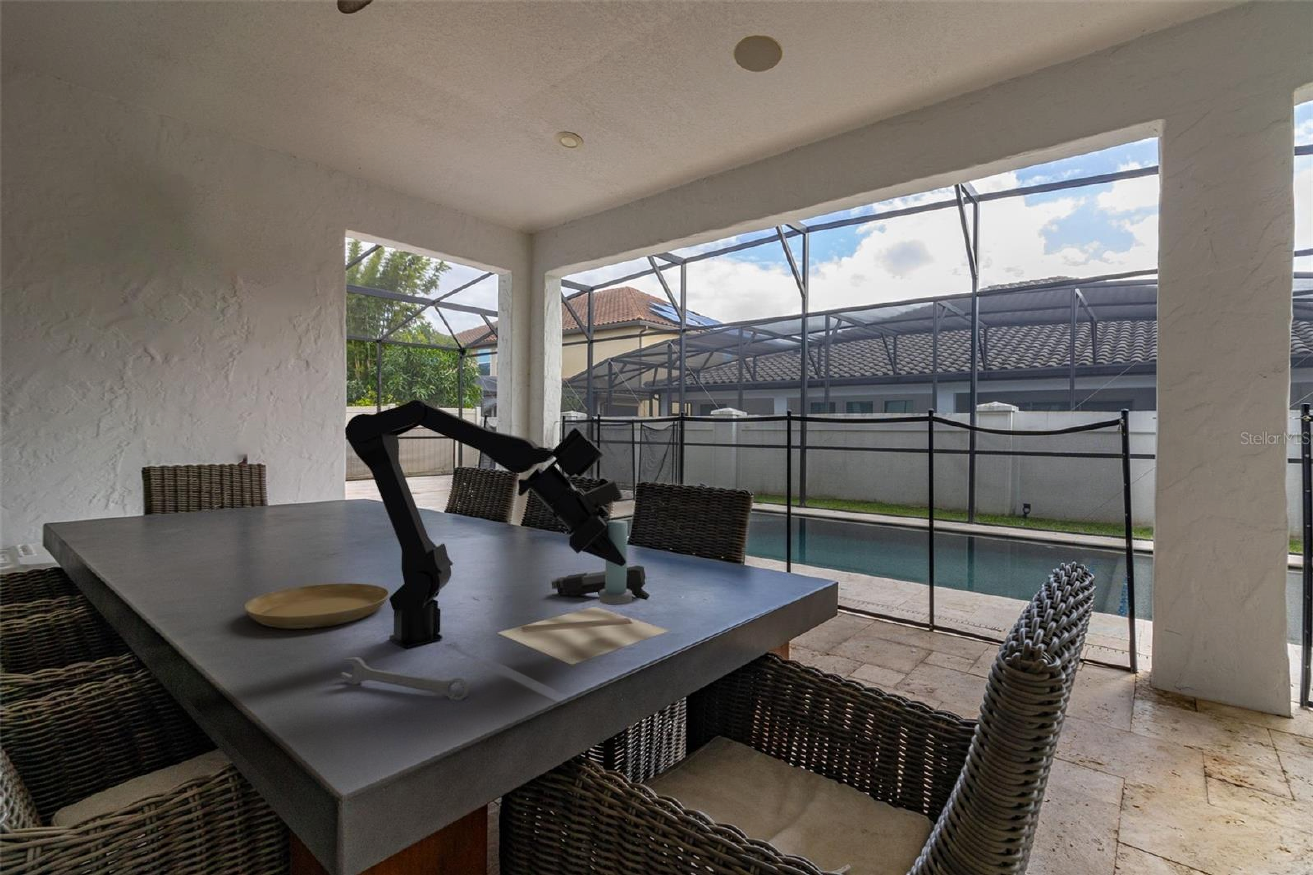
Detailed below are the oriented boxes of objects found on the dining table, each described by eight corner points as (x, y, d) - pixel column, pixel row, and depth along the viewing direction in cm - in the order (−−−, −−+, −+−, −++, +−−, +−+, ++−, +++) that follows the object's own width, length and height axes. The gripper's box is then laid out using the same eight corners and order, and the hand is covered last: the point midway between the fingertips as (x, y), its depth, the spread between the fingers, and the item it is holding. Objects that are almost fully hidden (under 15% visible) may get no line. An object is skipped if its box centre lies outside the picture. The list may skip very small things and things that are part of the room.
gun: (649, 602, 126) (634, 556, 126) (563, 627, 130) (549, 582, 130) (653, 596, 130) (639, 552, 131) (570, 621, 134) (556, 577, 135)
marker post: (615, 607, 100) (617, 525, 100) (592, 600, 103) (593, 521, 103) (638, 600, 104) (640, 522, 104) (615, 594, 108) (616, 518, 108)
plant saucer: (339, 591, 132) (339, 576, 132) (415, 608, 121) (415, 591, 121) (216, 620, 111) (216, 602, 111) (295, 644, 100) (295, 624, 100)
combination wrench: (470, 675, 80) (347, 653, 86) (464, 678, 79) (340, 656, 85) (469, 703, 80) (346, 679, 86) (463, 707, 79) (339, 683, 85)
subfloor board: (571, 671, 90) (571, 664, 90) (497, 638, 103) (497, 632, 103) (670, 636, 106) (670, 630, 106) (594, 611, 119) (594, 606, 119)
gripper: (592, 466, 94) (661, 538, 95) (597, 461, 113) (655, 521, 113) (540, 516, 94) (610, 588, 94) (554, 502, 112) (612, 562, 113)
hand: (624, 561), depth 104 cm, fingers closed on marker post, 4 cm apart
